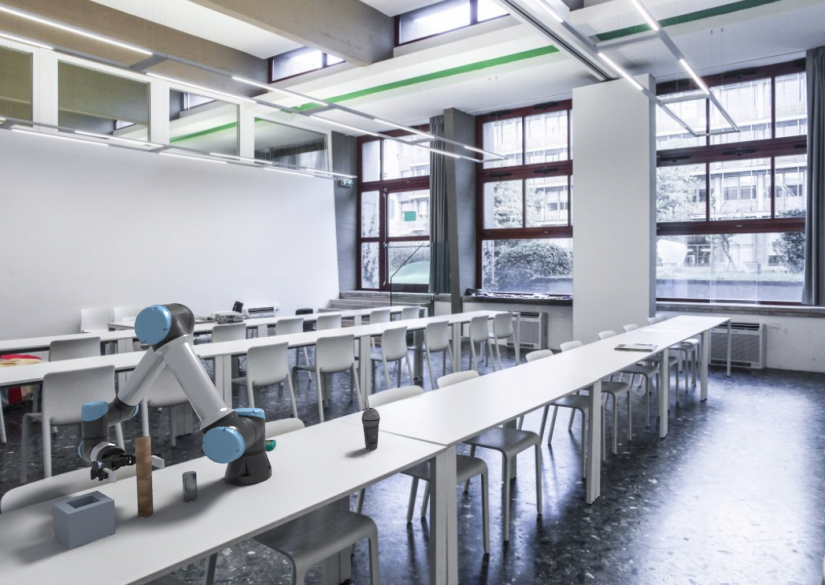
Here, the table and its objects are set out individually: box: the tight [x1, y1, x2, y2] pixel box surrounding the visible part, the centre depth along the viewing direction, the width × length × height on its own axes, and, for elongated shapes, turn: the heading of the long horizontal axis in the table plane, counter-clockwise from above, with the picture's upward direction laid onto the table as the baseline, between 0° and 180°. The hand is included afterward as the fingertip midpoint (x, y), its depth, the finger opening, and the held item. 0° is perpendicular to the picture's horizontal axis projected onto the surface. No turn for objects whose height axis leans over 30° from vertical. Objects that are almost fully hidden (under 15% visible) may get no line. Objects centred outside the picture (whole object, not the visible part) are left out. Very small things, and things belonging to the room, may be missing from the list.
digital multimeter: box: [266, 439, 277, 451], centre depth 220 cm, size 7×15×3 cm, turn 93°
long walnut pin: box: [134, 435, 154, 518], centre depth 160 cm, size 4×4×22 cm
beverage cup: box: [361, 396, 381, 451], centre depth 217 cm, size 7×7×20 cm
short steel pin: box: [181, 470, 198, 503], centre depth 171 cm, size 4×4×8 cm
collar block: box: [51, 490, 117, 550], centre depth 148 cm, size 11×11×9 cm
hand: (139, 471), depth 161 cm, fingers open, 13 cm apart
